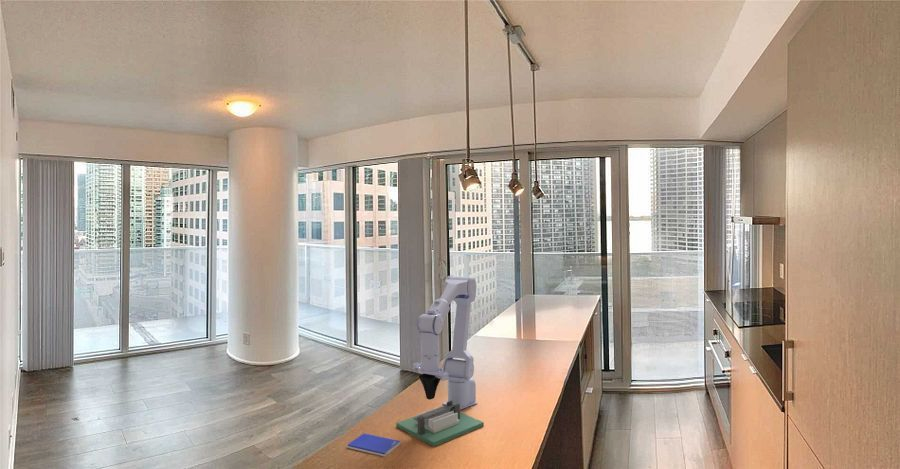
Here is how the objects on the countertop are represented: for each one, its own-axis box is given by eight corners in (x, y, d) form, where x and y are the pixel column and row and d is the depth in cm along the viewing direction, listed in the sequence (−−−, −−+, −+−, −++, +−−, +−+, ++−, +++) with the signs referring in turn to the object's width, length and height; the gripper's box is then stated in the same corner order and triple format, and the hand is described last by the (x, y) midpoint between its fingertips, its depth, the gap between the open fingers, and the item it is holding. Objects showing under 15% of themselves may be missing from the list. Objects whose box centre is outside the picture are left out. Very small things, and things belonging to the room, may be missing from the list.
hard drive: (400, 440, 136) (364, 432, 141) (384, 452, 128) (347, 444, 133) (400, 445, 136) (364, 437, 141) (384, 458, 128) (347, 449, 133)
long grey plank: (452, 406, 151) (452, 403, 151) (456, 408, 150) (456, 405, 150) (413, 420, 141) (413, 417, 141) (417, 422, 140) (417, 419, 140)
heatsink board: (445, 409, 160) (445, 391, 160) (483, 426, 147) (483, 406, 147) (396, 426, 147) (396, 407, 147) (433, 446, 133) (433, 425, 133)
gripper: (405, 351, 147) (405, 395, 148) (435, 361, 136) (435, 408, 137) (423, 347, 152) (423, 389, 152) (453, 356, 141) (454, 402, 141)
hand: (430, 398), depth 145 cm, fingers closed
